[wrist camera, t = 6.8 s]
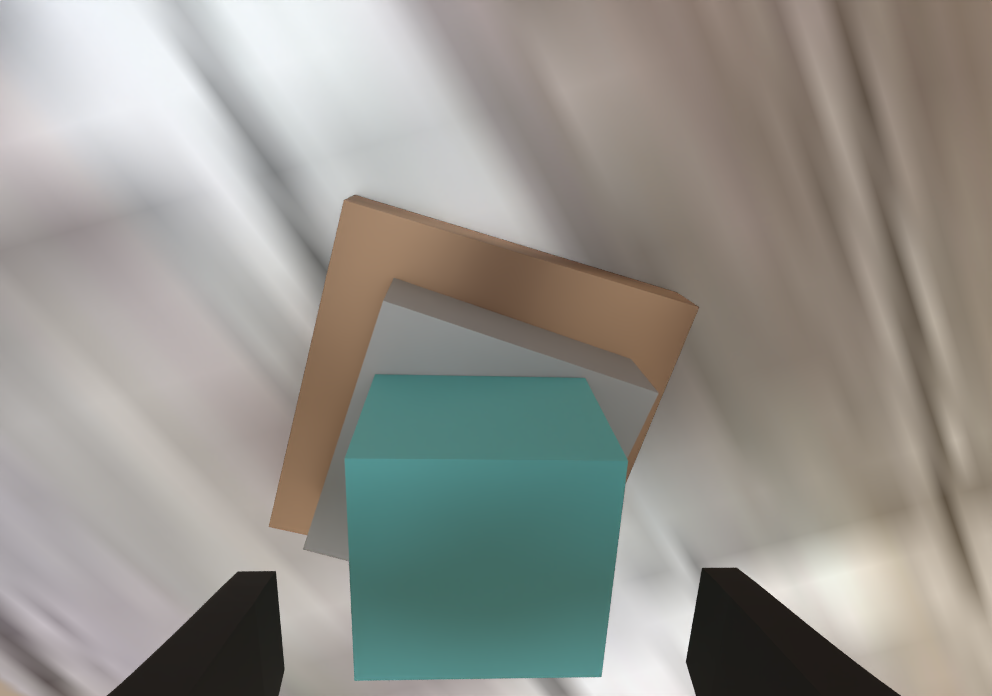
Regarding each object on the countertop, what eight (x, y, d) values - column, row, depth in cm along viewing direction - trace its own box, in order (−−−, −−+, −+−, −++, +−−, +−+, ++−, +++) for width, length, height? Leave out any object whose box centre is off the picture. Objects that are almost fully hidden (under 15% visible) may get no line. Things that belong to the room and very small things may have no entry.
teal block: (585, 377, 15) (628, 460, 11) (569, 552, 16) (601, 676, 13) (374, 374, 14) (344, 458, 11) (379, 552, 16) (354, 680, 12)
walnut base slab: (669, 287, 19) (698, 307, 17) (566, 546, 22) (579, 594, 20) (358, 193, 18) (343, 200, 16) (290, 483, 21) (268, 526, 18)
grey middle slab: (631, 358, 17) (659, 393, 15) (540, 556, 19) (552, 614, 17) (393, 277, 16) (383, 300, 14) (322, 496, 18) (302, 549, 16)
